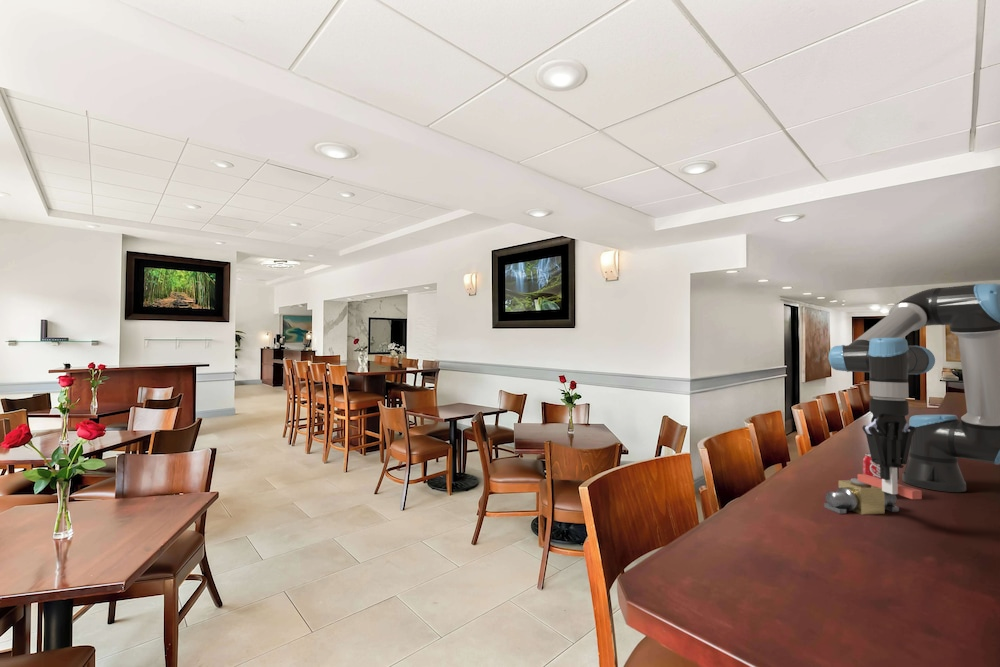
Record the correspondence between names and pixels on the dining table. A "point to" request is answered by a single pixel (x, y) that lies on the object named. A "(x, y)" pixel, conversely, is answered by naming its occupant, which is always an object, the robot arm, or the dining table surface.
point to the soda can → (870, 467)
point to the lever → (869, 480)
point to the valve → (860, 499)
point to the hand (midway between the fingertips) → (889, 492)
